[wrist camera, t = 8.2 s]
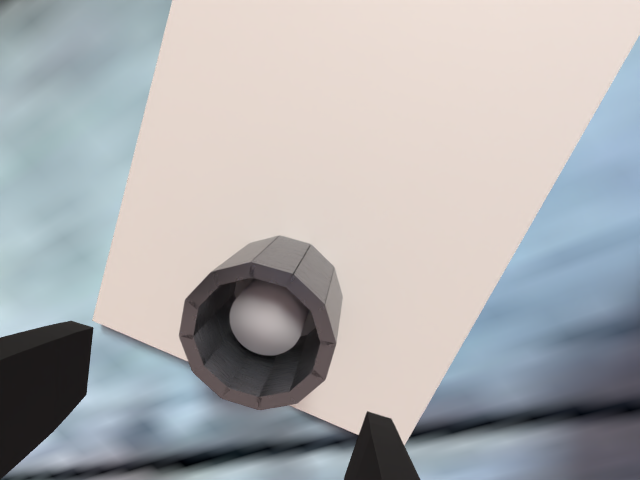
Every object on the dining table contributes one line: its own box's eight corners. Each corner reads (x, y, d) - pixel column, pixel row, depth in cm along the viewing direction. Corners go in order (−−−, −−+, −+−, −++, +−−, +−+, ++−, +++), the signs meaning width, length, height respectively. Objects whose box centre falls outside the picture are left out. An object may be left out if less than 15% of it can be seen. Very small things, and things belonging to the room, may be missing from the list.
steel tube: (354, 255, 15) (352, 290, 11) (323, 362, 16) (312, 426, 12) (236, 223, 15) (193, 245, 11) (215, 330, 16) (170, 383, 13)
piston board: (711, -116, 12) (846, -222, 8) (398, 440, 18) (406, 502, 14) (260, -292, 12) (223, -457, 9) (103, 313, 18) (47, 347, 15)
